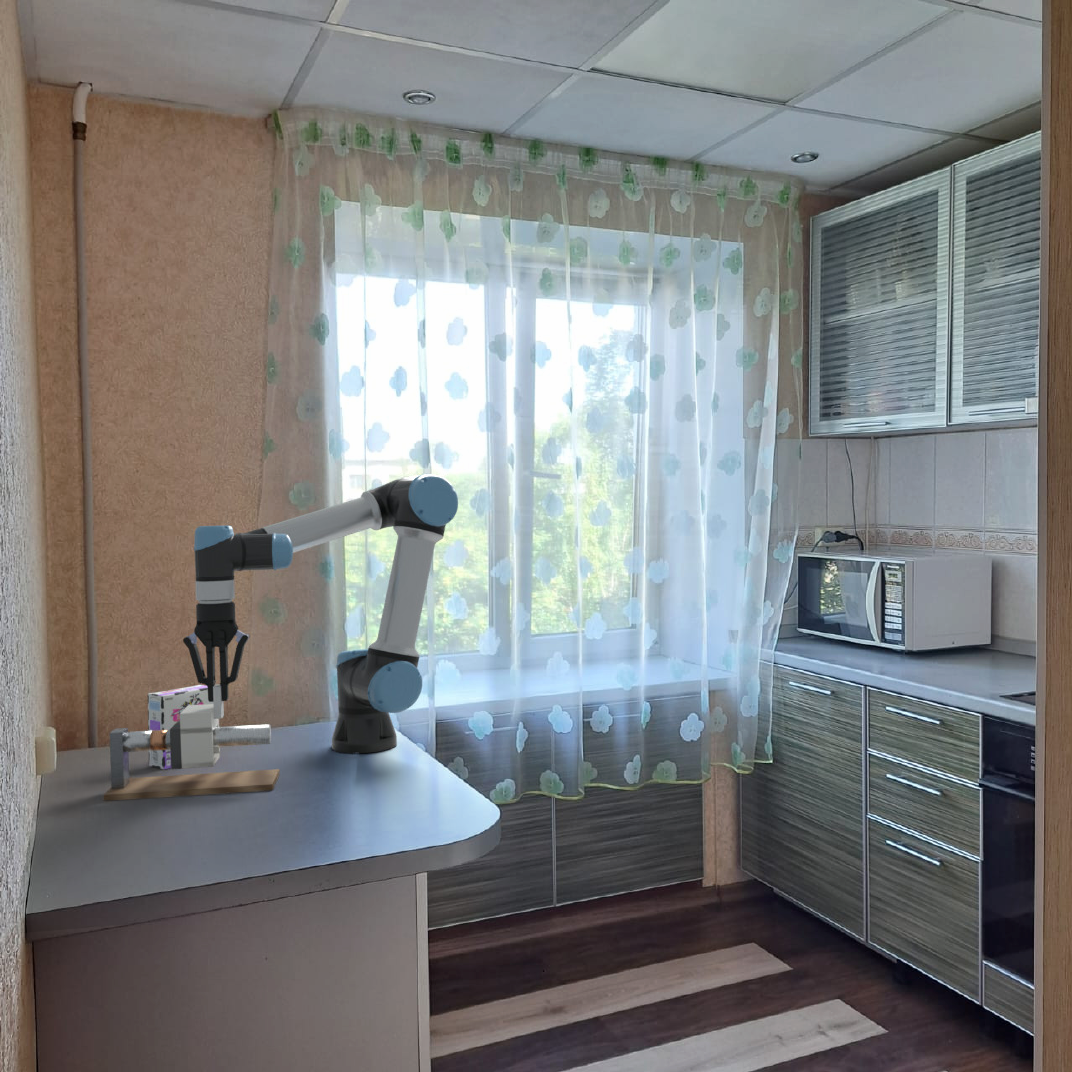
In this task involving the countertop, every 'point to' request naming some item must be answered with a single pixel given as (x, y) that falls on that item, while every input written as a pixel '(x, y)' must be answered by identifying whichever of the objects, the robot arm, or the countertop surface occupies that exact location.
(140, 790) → the board
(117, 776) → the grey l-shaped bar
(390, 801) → the countertop surface
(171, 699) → the candy box
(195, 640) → the robot arm
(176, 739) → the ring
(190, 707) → the sleeve
